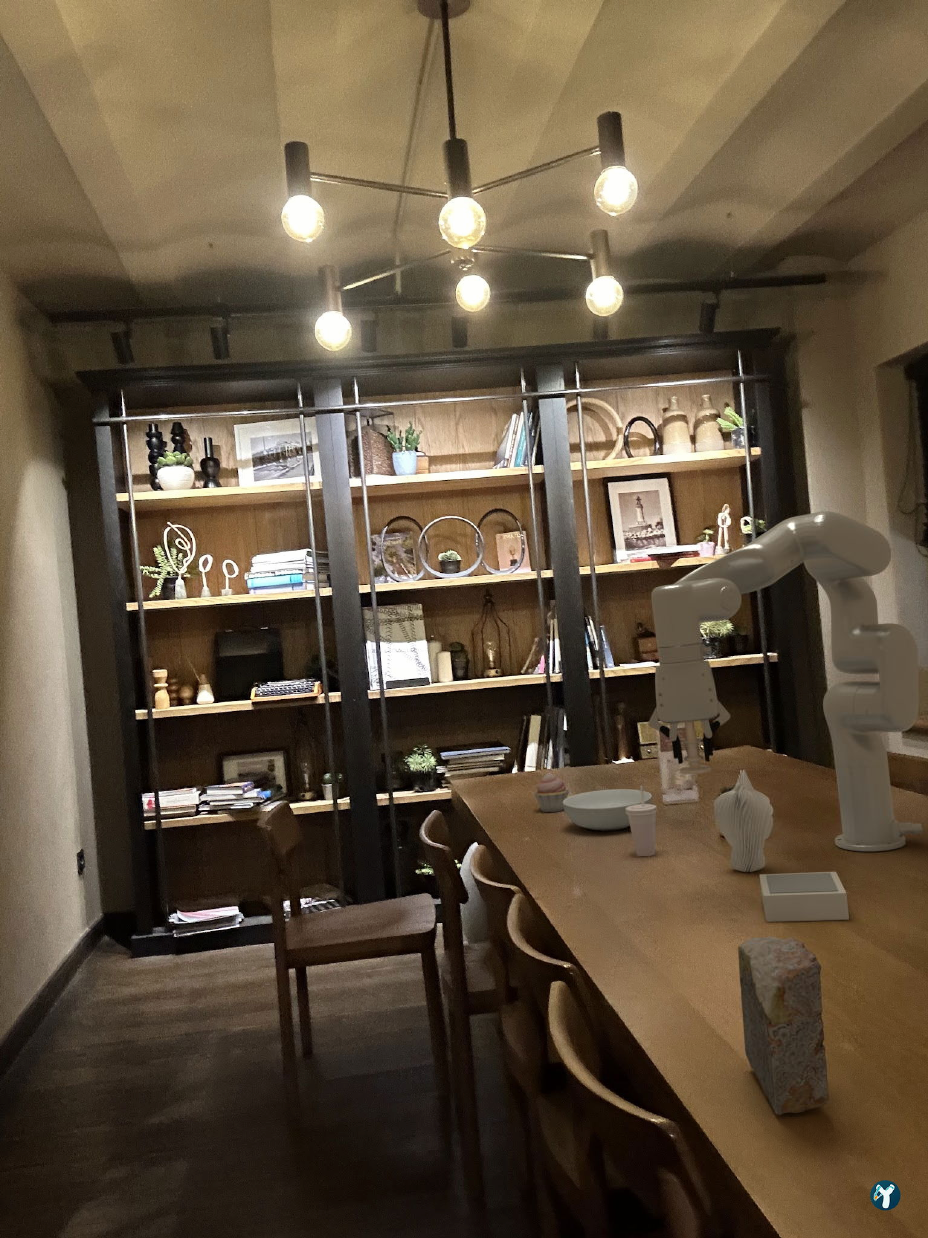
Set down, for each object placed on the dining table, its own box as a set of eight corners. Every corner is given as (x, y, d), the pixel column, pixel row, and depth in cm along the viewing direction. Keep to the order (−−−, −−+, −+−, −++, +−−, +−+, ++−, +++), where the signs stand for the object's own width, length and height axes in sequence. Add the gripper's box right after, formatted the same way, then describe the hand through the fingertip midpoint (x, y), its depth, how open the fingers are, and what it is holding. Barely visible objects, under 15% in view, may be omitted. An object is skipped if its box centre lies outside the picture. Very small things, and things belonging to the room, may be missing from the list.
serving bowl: (554, 838, 221) (551, 808, 221) (578, 818, 240) (576, 790, 240) (645, 836, 213) (641, 805, 213) (662, 816, 232) (659, 787, 232)
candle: (705, 774, 162) (697, 712, 162) (675, 774, 165) (668, 714, 165) (714, 768, 166) (707, 708, 166) (685, 768, 169) (678, 709, 169)
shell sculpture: (750, 878, 172) (739, 778, 172) (718, 870, 179) (707, 774, 180) (783, 869, 176) (773, 771, 176) (751, 861, 183) (740, 767, 183)
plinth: (838, 896, 157) (835, 870, 157) (849, 919, 145) (846, 892, 145) (761, 898, 160) (759, 873, 160) (766, 921, 148) (763, 895, 148)
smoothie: (661, 857, 193) (654, 788, 193) (629, 859, 194) (622, 790, 195) (661, 849, 199) (654, 782, 200) (630, 851, 201) (623, 784, 201)
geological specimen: (744, 1069, 102) (729, 928, 103) (802, 1063, 102) (787, 922, 102) (773, 1120, 92) (756, 963, 92) (838, 1115, 92) (821, 957, 92)
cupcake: (577, 806, 254) (573, 769, 255) (561, 814, 247) (557, 775, 247) (546, 806, 259) (542, 769, 260) (529, 814, 252) (525, 775, 252)
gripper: (730, 648, 167) (743, 753, 167) (633, 659, 171) (646, 761, 171) (731, 651, 160) (745, 761, 160) (630, 662, 164) (643, 769, 164)
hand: (694, 760), depth 165 cm, fingers closed on candle, 3 cm apart
